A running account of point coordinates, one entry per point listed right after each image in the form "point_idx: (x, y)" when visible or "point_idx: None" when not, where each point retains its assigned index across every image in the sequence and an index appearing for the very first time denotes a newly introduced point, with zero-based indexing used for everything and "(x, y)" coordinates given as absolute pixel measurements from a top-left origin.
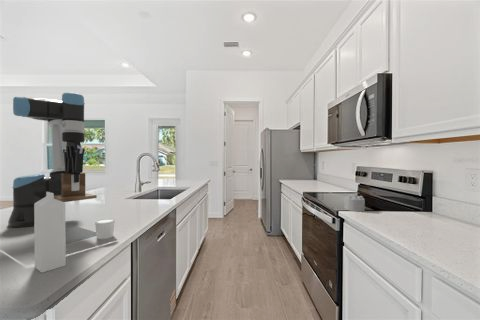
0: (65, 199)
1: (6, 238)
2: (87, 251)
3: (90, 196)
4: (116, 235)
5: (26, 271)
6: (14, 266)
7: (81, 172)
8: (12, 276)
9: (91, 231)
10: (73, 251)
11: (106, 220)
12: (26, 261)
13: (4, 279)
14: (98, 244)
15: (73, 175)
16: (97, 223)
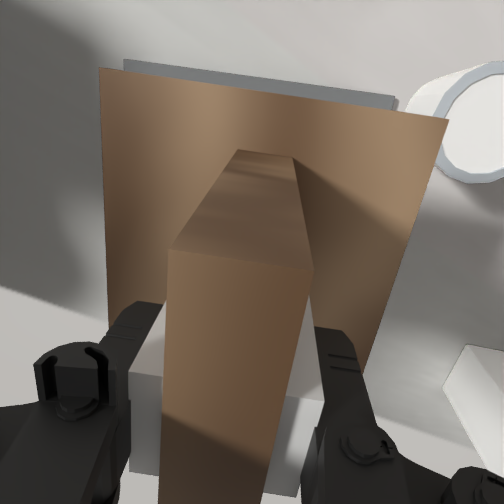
0: (361, 371)
1: (54, 300)
2: (496, 261)
3: (422, 186)
4: (467, 48)
5: (445, 404)
6: (379, 400)
7: (498, 491)
8: (440, 426)
9: (290, 87)
10: (441, 281)
11: (486, 108)
12: (373, 375)
13: (438, 437)
14: (478, 192)
15: (299, 464)
16: (477, 182)
